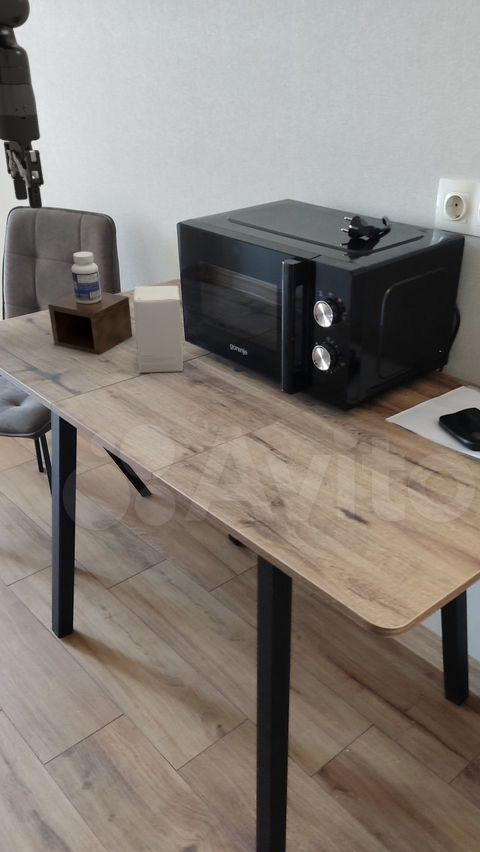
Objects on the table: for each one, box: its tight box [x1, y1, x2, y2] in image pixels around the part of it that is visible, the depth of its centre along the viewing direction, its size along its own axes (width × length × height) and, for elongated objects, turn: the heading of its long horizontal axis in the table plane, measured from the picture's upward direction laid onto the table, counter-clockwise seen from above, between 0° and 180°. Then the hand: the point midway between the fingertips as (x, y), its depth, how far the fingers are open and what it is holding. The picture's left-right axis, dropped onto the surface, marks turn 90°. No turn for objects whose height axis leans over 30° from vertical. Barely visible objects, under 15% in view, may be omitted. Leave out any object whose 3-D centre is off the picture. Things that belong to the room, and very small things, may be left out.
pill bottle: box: [71, 251, 102, 304], centre depth 147 cm, size 5×5×10 cm
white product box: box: [133, 285, 184, 374], centre depth 141 cm, size 9×9×15 cm
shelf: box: [47, 291, 133, 355], centre depth 152 cm, size 12×12×9 cm
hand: (28, 203), depth 139 cm, fingers open, 8 cm apart
